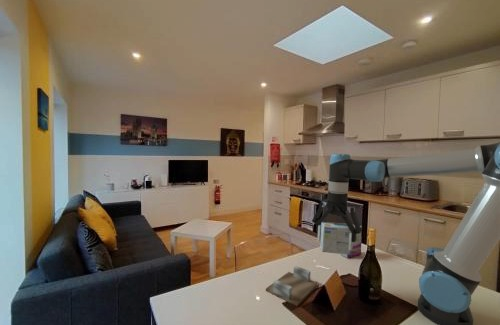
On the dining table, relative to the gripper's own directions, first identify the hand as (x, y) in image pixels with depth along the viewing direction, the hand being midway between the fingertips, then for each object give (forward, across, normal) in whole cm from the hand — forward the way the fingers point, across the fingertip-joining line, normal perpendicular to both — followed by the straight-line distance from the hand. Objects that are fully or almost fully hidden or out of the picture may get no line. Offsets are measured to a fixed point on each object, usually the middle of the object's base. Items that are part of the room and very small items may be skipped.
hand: (334, 244), depth 96 cm
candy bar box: (+19, +5, -40) cm, 45 cm away
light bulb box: (+3, 0, 0) cm, 3 cm away
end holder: (+19, +12, +11) cm, 25 cm away
